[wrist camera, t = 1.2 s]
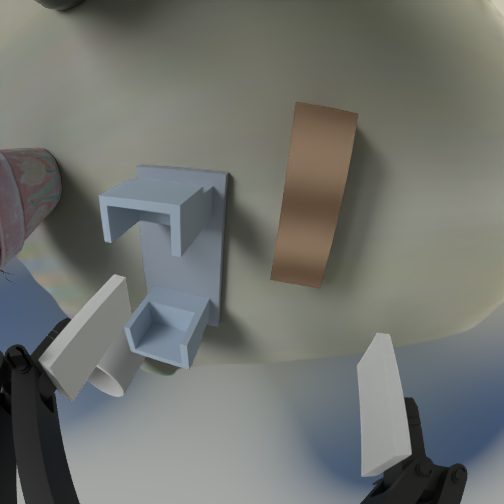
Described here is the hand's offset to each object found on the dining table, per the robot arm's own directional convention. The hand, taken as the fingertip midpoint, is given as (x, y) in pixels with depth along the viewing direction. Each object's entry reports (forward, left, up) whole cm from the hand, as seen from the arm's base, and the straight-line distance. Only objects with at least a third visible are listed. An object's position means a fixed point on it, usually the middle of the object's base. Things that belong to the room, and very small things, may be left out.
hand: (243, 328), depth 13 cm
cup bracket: (+7, -10, -16) cm, 20 cm away
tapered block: (-3, +3, -17) cm, 17 cm away
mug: (+24, -22, -17) cm, 37 cm away
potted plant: (0, -33, -17) cm, 37 cm away
